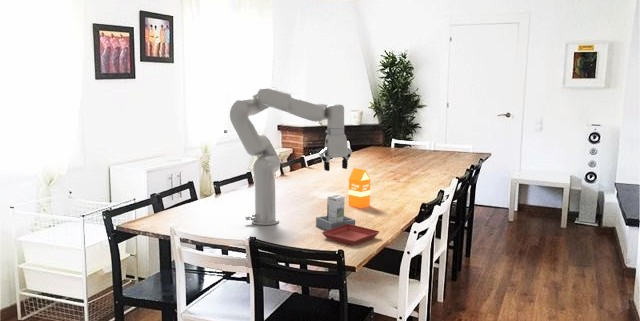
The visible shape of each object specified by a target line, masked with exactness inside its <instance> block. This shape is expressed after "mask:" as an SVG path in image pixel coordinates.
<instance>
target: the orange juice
mask: <svg viewBox="0 0 640 321" xmlns="http://www.w3.org/2000/svg"><path fill="white" fill-rule="evenodd" d="M370 204H371V178H370V176H369V174H368V172H367V170H366V169H362V168H356V167H354V168H353V169H352V171H351V173H350V175H349V178H348V206H349V207H350V206H351V207H354V208H355V207H356V208H359V209H362V208H365V207H366V208H367V207H370Z"/></svg>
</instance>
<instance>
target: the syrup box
mask: <svg viewBox="0 0 640 321" xmlns="http://www.w3.org/2000/svg"><path fill="white" fill-rule="evenodd" d="M326 199H327V203H326V209H327V210H326V216H327V221H329V222H331V223H334V222H341V221H344V216H345V196H343V195H339V194H333V195H330V196H327V198H326Z"/></svg>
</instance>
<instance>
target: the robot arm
mask: <svg viewBox="0 0 640 321" xmlns="http://www.w3.org/2000/svg"><path fill="white" fill-rule="evenodd" d="M269 108H272V109H277V110H279V111H283V112H286V113H287V114H290V115H293V116H296V117H298V118H301V119H304V120H308V121H312V122H321V121H325V120H327V123H326V124H327V128H326V130H325V134H326V137H325V142H324V149H322V150H321V151H320V152H318V155H319V157H320V159H321V160H322V161H323V169H324V171H326V172H329V171H330V168H331V167H330V159H335V158H342V161H341V163H342V164H341V168H342V169H343V170H347V169H348V166H349V165H348V160H350V159H349V158H350V157H351V155H352V152H353V150H352V149H351V148H350V147H349V148H348V146H349V145H348V139H347V135H346V134H345V107H344V105H343V104H326V103H317V104H316V103H312V102H308V101H305V100H302V99H300V98H298V97H297V96H296V95H295V94H293V93H290V92H286V91H282V90H279V89H277V87H274V86H264V87H261V88H260V89H259V90H258V91H257V93H256V94H254V95H251V96H250V97H242V98H239V99H237V100H235V102H234V103H233V104H232V106H231V107H230V109H229V118H230V122H231V124H232V127H233V129H234V130H235V132H236V134H237V135H238V138H239V140H240V142H241V144H242V146H243V147H244V149H245V151H246V153H247V154H248V155H249V156H253V157H257V159H256V160H255V162H254V164H253V170H252V171H253V178H254V203H255V204H254V210H255V211H254V212H253V213H252V214H251V215H246V216H245V221H251V222H252V224H254V225H258V226H272V225H277V224H278V223H279V222H280V220H279V218H278V217H276V180H275V179H276V178H275V173H276V172H278V171H279V169H280V168H281V160H280V157H279V155H278V154H277V152H276V150H275V148H274V146H273V144H272V142H271V140H270V139H269V138H268V137H267V135H265V134H262V133H258V131H257V129H256V128H255V125H254V124H253V122H252V121H251V120H250V118H249V116H255V115H257V114H259V113H261V112H263V111H265V110H266V109H269Z"/></svg>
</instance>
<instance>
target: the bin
mask: <svg viewBox="0 0 640 321" xmlns="http://www.w3.org/2000/svg"><path fill="white" fill-rule="evenodd" d="M346 224H351V225H355V226H356V219H354V218H351V217H349V216H346V215H344V221H341V222H334V223H331V222H329V221H327V215H323V216H316V217H315V227H319V228H320V229H323V230H324V231H327V230H330V229H333V228H336V227H339V226H342V225H346Z"/></svg>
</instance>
